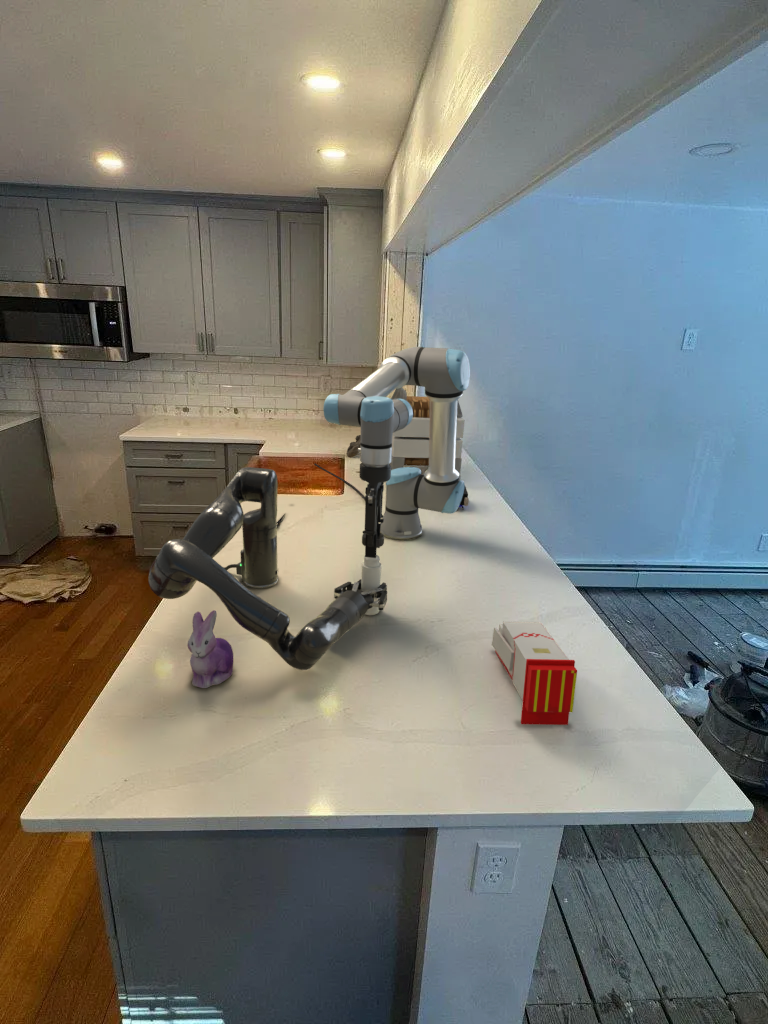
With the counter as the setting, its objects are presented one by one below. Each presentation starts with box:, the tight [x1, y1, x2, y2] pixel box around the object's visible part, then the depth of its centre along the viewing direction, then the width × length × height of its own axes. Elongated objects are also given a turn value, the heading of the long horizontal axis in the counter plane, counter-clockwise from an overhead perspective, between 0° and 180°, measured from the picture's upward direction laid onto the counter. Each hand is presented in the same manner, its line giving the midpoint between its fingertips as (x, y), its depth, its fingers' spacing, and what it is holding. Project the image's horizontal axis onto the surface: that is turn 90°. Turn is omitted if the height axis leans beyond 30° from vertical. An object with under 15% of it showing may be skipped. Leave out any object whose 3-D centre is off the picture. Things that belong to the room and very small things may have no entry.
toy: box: [491, 621, 578, 726], centre depth 121 cm, size 12×13×30 cm
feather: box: [276, 513, 286, 529], centre depth 210 cm, size 2×28×2 cm
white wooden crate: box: [390, 387, 465, 480], centre depth 268 cm, size 34×33×41 cm
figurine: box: [187, 609, 234, 689], centre depth 117 cm, size 9×10×15 cm
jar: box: [360, 554, 382, 616], centre depth 146 cm, size 5×5×15 cm
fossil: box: [346, 434, 361, 458], centre depth 305 cm, size 22×10×15 cm
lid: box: [361, 532, 385, 548], centre depth 142 cm, size 6×6×2 cm
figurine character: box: [458, 486, 470, 511], centre depth 230 cm, size 7×8×15 cm
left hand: (375, 583), depth 149 cm, fingers closed on jar, 5 cm apart
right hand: (372, 551), depth 143 cm, fingers closed on lid, 5 cm apart
